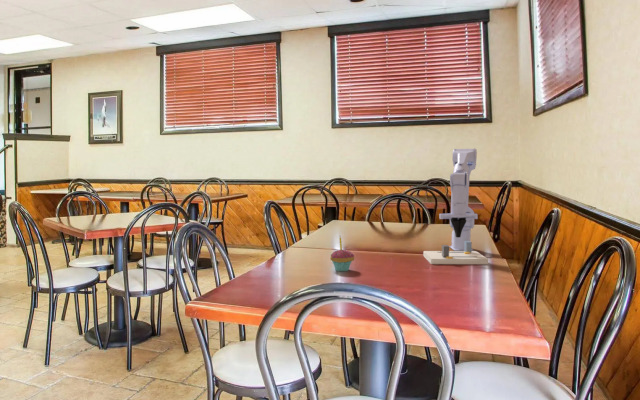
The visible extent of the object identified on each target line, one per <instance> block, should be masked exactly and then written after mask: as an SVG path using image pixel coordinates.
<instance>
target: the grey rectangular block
mask: <svg viewBox="0 0 640 400" xmlns="http://www.w3.org/2000/svg"><path fill="white" fill-rule="evenodd" d="M472 244H473V243H472V241H471V240H470V241H464V251H465V252H471V249H473V248H472V247H473V246H472Z"/></svg>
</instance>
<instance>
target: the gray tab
mask: <svg viewBox="0 0 640 400" xmlns="http://www.w3.org/2000/svg"><path fill="white" fill-rule="evenodd" d="M449 246H450V245H447V244H441V251H442V256H443V257H446V256H449V251H450V247H449Z"/></svg>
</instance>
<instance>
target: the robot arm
mask: <svg viewBox="0 0 640 400" xmlns="http://www.w3.org/2000/svg"><path fill="white" fill-rule="evenodd" d="M477 155H478V151H477V149H476V148H453V150H452V164H453V171H452V173H450V175H449V176H450V177H449V185H450V192H451V193H450V194H451V196H450V197H451V199H450V212H449V213H448V212H447V213H439V214H438V215H439V220H449V226H450V228H452V232H451V245H448V246H449V249H450V248H451V249H452V251H464V241H470V242H471V236H472V235H471V232H472V231H471V230H472V229H474V227H475V220H478V219H479V218H478V215H479V214H478V213H475V211H474V209H472V208H471V207H470V206H469V196H470V195H469V194H470V192H469V191H470V176H471V173H472V171H473V170H475V169H476V166H477ZM471 251H474V249H473V248H472V249H471Z"/></svg>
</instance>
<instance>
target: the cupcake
mask: <svg viewBox="0 0 640 400" xmlns="http://www.w3.org/2000/svg"><path fill="white" fill-rule="evenodd" d="M342 242H343V241H342V237H341V236H339V250H334V251H333V252H332V253H331V254H330V261H332V262H331V263H332V264H333V266H334V267H333V268H334V269H335V271H337V272H347V271H349V270H350V267H351V264H352V262H353V261H355V259H356V258H355V254H354V253H352V252H351V251H350V250H346V249H343V244H342Z"/></svg>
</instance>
